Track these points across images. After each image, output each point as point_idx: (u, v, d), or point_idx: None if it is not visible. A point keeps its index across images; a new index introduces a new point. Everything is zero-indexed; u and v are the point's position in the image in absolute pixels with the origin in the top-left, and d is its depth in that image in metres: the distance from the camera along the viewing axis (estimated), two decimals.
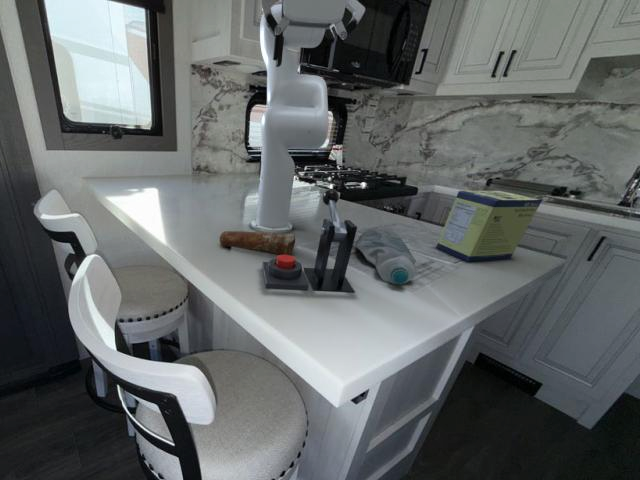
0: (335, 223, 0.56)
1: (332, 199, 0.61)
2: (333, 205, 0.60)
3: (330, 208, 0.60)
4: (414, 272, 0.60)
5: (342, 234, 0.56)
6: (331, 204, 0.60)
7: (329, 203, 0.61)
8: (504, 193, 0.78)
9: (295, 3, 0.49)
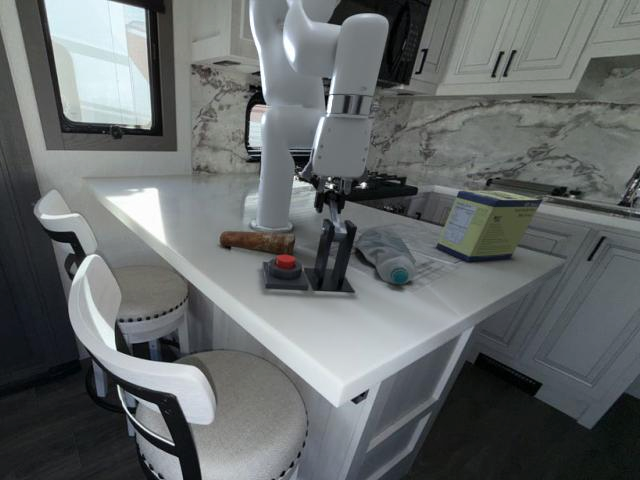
0: (335, 223, 0.56)
1: (332, 199, 0.61)
2: (333, 205, 0.60)
3: (330, 208, 0.60)
4: (414, 272, 0.60)
5: (342, 234, 0.56)
6: (331, 204, 0.60)
7: (329, 203, 0.61)
8: (504, 193, 0.78)
9: (323, 165, 0.57)
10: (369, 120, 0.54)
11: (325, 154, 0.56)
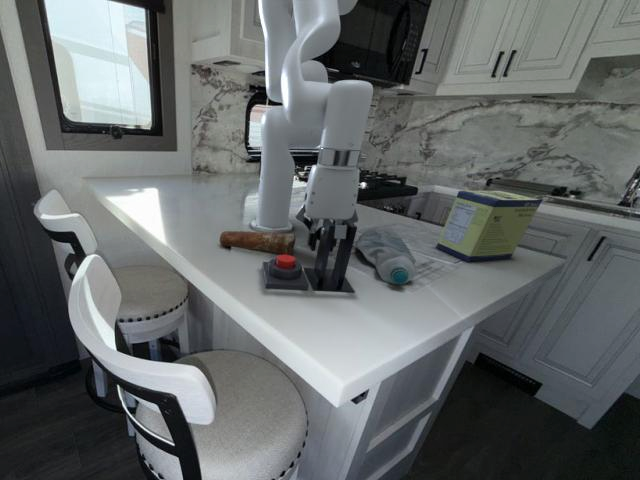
0: None
1: None
2: None
3: None
4: (414, 272, 0.60)
5: (342, 227, 0.55)
6: None
7: None
8: (504, 193, 0.78)
9: (315, 209, 0.62)
10: (357, 170, 0.58)
11: (317, 200, 0.61)
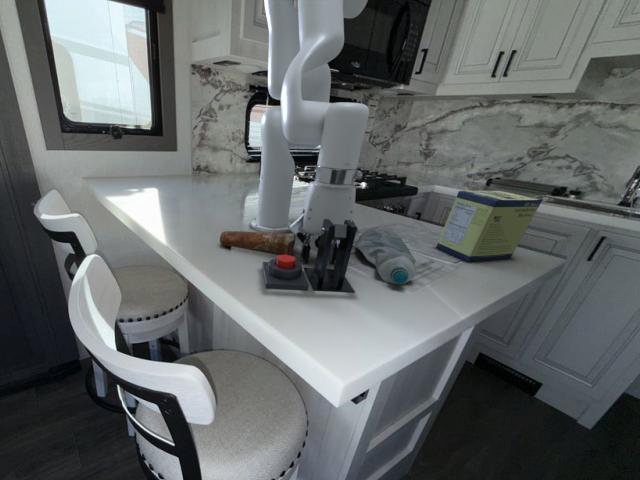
0: None
1: None
2: None
3: None
4: (414, 272, 0.60)
5: (342, 226, 0.56)
6: None
7: None
8: (504, 193, 0.78)
9: (312, 225, 0.63)
10: (353, 188, 0.59)
11: (314, 216, 0.62)
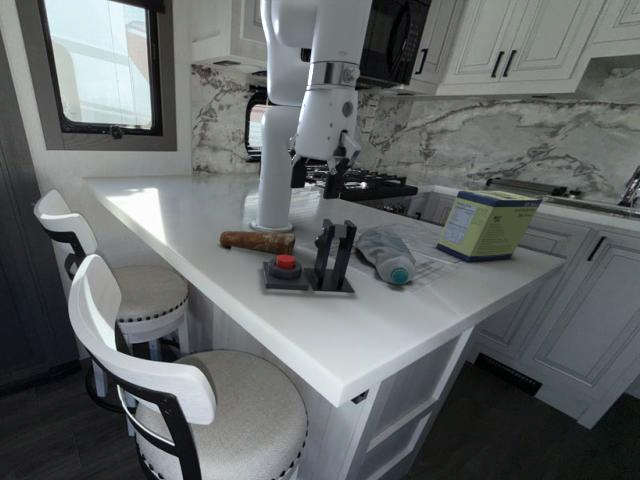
0: None
1: None
2: None
3: None
4: (414, 272, 0.60)
5: (342, 226, 0.56)
6: None
7: None
8: (504, 193, 0.78)
9: (299, 144, 0.54)
10: (335, 90, 0.46)
11: (300, 132, 0.53)
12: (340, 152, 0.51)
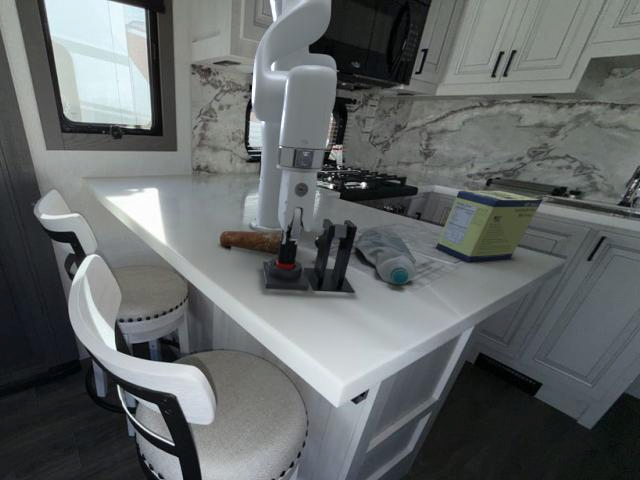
0: None
1: None
2: None
3: None
4: (414, 272, 0.60)
5: (342, 226, 0.56)
6: None
7: None
8: (504, 193, 0.78)
9: (278, 210, 0.58)
10: (289, 172, 0.48)
11: None
12: (298, 228, 0.54)
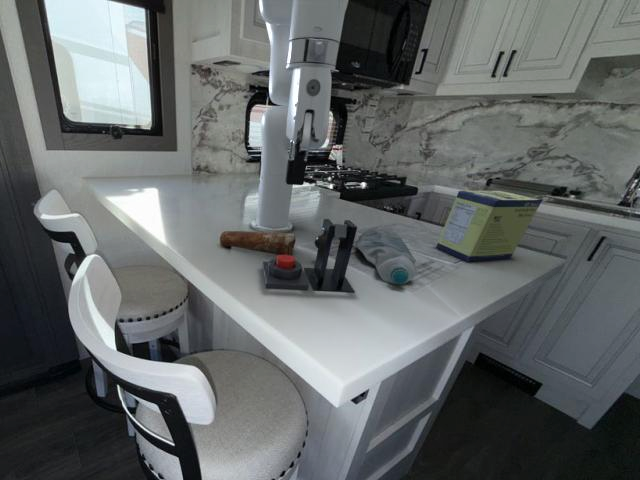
0: None
1: None
2: None
3: None
4: (414, 272, 0.60)
5: (342, 226, 0.56)
6: None
7: None
8: (504, 193, 0.78)
9: None
10: (300, 68, 0.45)
11: None
12: None
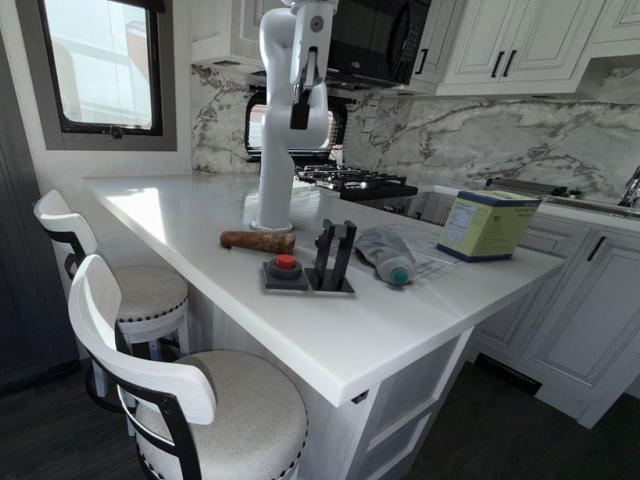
0: None
1: None
2: None
3: None
4: (414, 272, 0.60)
5: (342, 226, 0.56)
6: None
7: None
8: (504, 193, 0.78)
9: None
10: (305, 5, 0.47)
11: None
12: None
